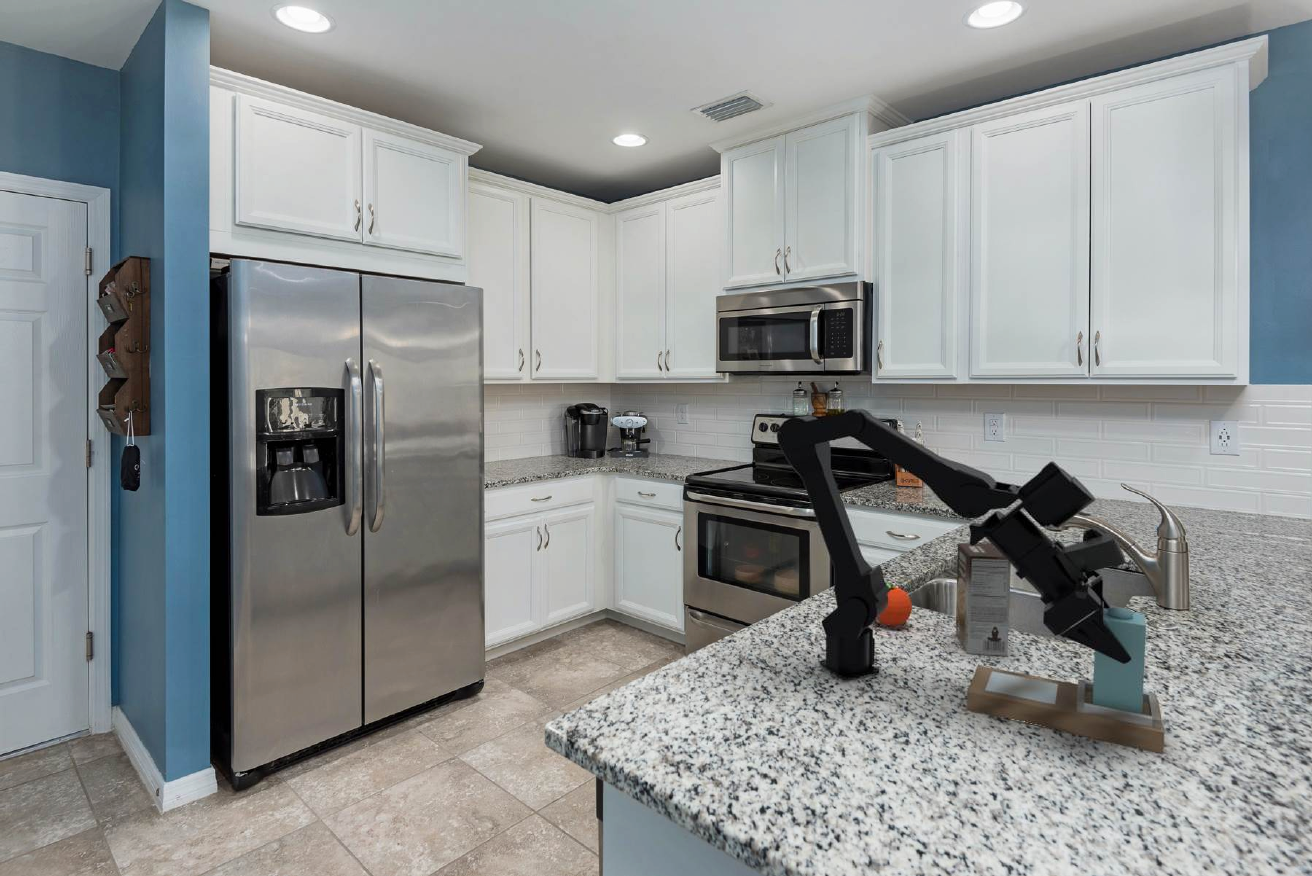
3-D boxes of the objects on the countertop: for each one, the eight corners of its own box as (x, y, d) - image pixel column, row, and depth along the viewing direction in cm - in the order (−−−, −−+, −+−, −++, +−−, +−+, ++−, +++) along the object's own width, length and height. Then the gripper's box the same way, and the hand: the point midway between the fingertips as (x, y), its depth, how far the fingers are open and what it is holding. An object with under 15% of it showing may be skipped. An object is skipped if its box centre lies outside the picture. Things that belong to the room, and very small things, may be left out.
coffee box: (954, 634, 120) (956, 541, 118) (994, 636, 118) (996, 543, 117) (966, 654, 111) (969, 554, 109) (1010, 657, 109) (1013, 556, 108)
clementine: (858, 620, 127) (858, 581, 127) (887, 614, 130) (888, 577, 130) (890, 634, 120) (890, 593, 119) (920, 627, 123) (921, 588, 122)
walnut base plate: (966, 709, 92) (967, 684, 92) (977, 682, 100) (978, 658, 100) (1163, 753, 81) (1164, 724, 80) (1157, 718, 89) (1158, 691, 89)
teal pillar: (1092, 709, 86) (1096, 612, 85) (1092, 694, 91) (1096, 601, 90) (1141, 719, 84) (1146, 619, 83) (1139, 703, 88) (1143, 608, 87)
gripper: (1080, 523, 80) (1196, 635, 75) (1083, 500, 96) (1179, 591, 90) (1001, 581, 85) (1105, 690, 80) (1016, 550, 100) (1104, 639, 95)
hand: (1126, 648), depth 86 cm, fingers open, 9 cm apart
